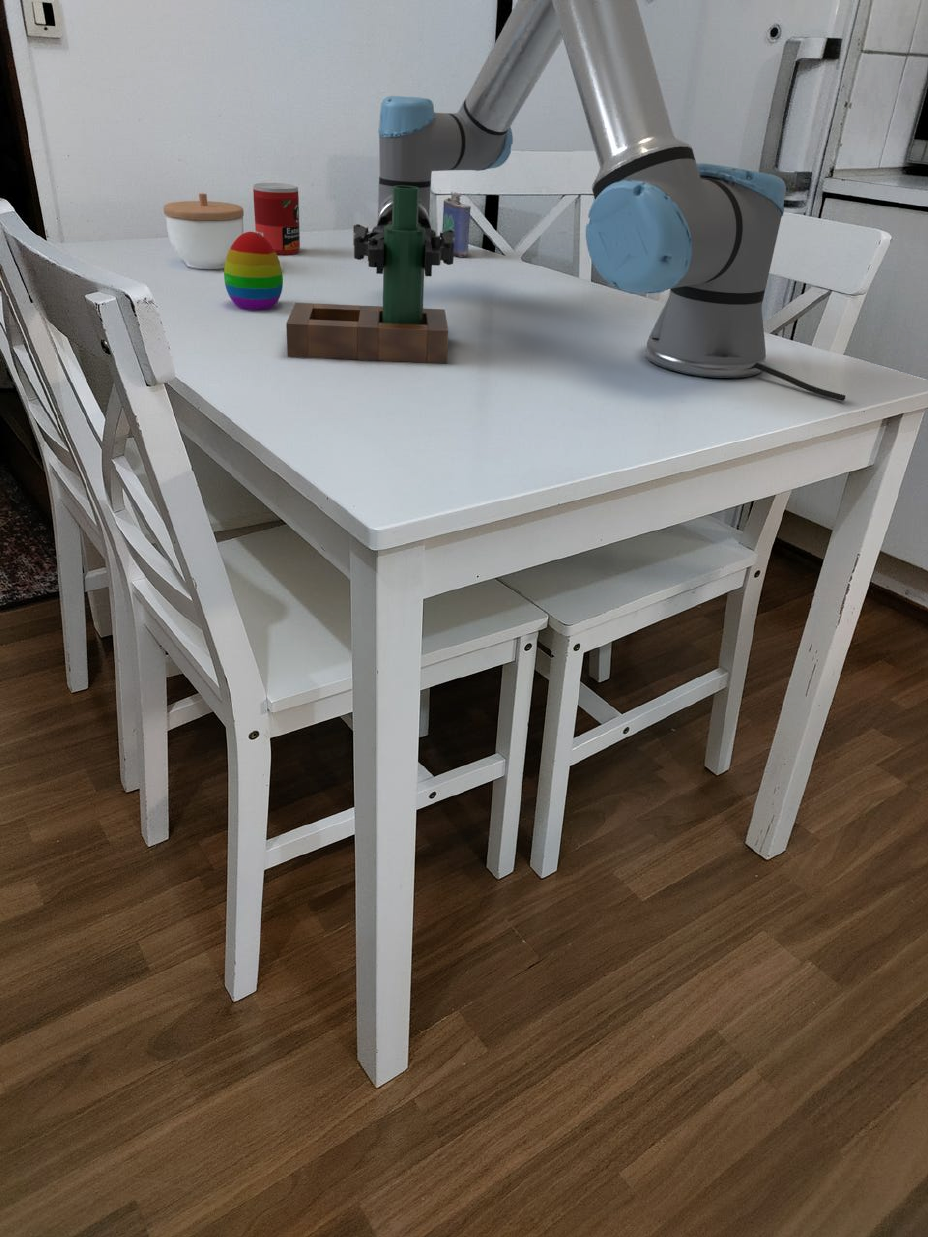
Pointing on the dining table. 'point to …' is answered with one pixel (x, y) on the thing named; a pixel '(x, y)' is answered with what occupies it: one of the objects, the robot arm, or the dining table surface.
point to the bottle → (404, 260)
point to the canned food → (278, 216)
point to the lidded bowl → (203, 230)
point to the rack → (364, 334)
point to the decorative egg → (253, 273)
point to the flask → (457, 223)
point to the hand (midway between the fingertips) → (404, 262)
